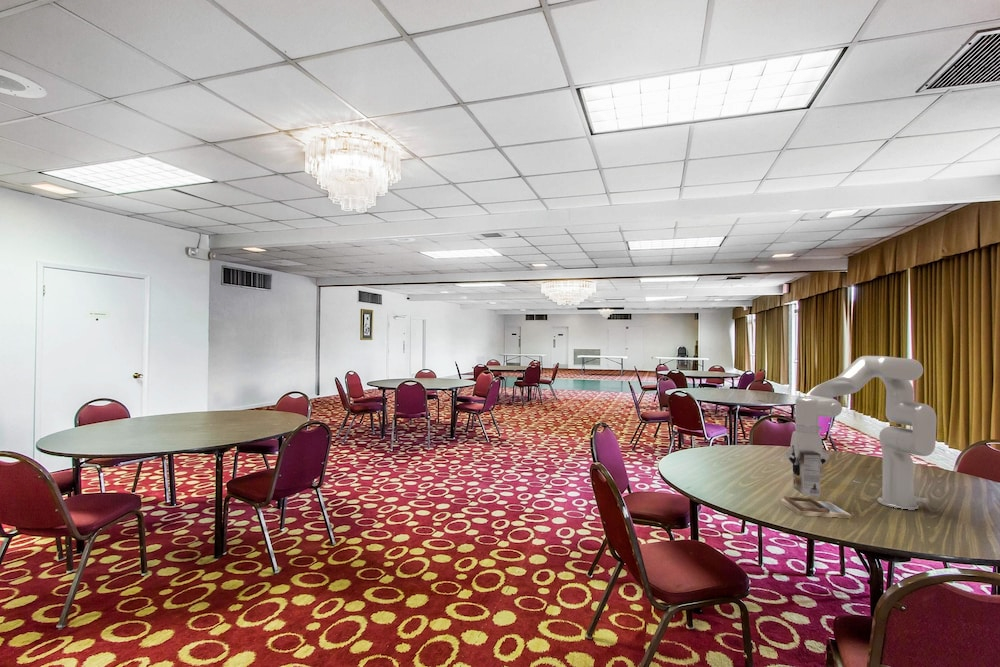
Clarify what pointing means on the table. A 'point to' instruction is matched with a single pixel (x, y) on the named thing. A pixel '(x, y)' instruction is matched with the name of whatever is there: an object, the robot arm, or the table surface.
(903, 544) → the table surface
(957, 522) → the table surface
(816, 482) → the coffee box
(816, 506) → the build board
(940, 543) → the table surface
